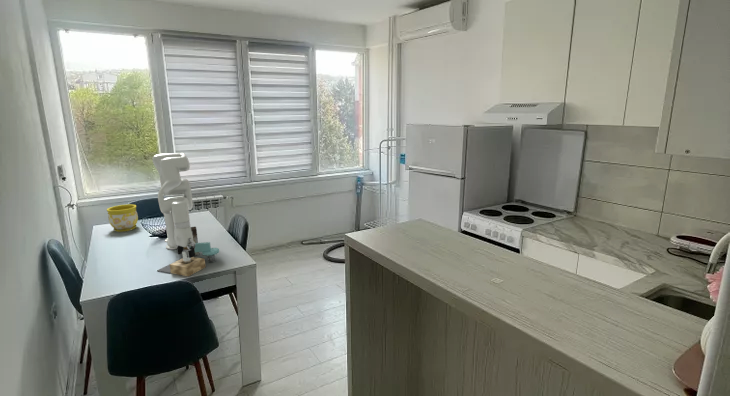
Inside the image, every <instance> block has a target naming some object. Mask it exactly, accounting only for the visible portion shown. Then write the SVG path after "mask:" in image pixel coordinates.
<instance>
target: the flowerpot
mask: <svg viewBox="0 0 730 396" xmlns="http://www.w3.org/2000/svg"><path fill="white" fill-rule="evenodd" d="M106 212H107V214H108V222H109V225H110V226H111V227H112V228H113V231H115V232H116V233H117V232H118V233H125V232H128V231H132V230H135V229H136V228H137V223H138V221H139V216H138V215H139V214H138V212H137V205H136V204H130V203H129V204H120V205H114V206H111V207H108V208H106Z"/></svg>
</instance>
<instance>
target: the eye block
mask: <svg viewBox="0 0 730 396" xmlns="http://www.w3.org/2000/svg"><path fill="white" fill-rule="evenodd" d="M205 259H206V258H202V257H197V256H194V257H191V262H190V263H188V264H184V262H183V257H182V258H180V259H178V260H176V261H174V262H172V263H170V271H171V273H170V274H173V275H179V276H183V277H184V276H185V277H191V276H192V275H194V274H196V273H197V272H199V271H202V270H203V269H205V268H206V261H205Z"/></svg>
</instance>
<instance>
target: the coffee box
mask: <svg viewBox="0 0 730 396" xmlns="http://www.w3.org/2000/svg"><path fill="white" fill-rule="evenodd" d="M190 227H191V231H192V235H193V241H194V242H195V243H199V240H198V232H197V226H190ZM188 245H189V244H188ZM184 250H189V249H188V248H187V247H184ZM199 255H200V252H195V256H199Z"/></svg>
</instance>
